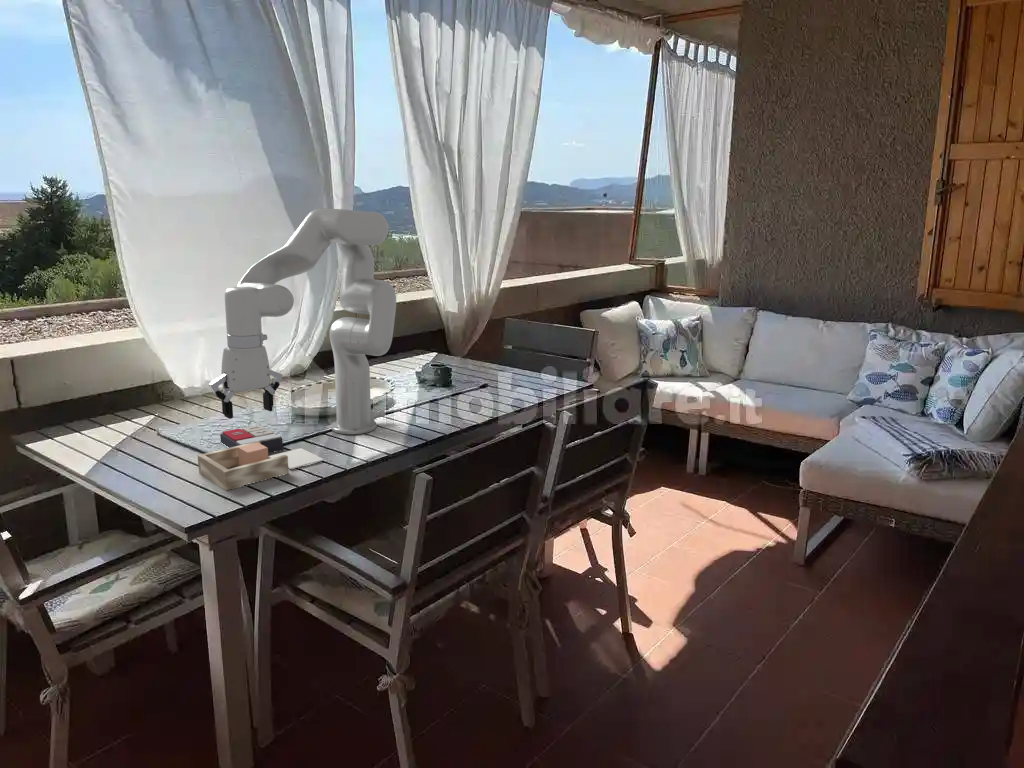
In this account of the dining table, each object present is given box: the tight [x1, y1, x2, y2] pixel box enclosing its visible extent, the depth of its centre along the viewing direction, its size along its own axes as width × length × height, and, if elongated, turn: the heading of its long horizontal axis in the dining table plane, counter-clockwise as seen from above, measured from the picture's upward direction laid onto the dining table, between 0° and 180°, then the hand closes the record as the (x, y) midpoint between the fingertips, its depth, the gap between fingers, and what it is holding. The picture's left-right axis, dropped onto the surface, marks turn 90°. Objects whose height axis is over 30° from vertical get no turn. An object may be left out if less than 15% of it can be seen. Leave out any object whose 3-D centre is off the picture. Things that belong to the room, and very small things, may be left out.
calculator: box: [219, 424, 284, 454], centre depth 191 cm, size 11×4×15 cm
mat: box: [268, 447, 325, 470], centre depth 183 cm, size 9×11×1 cm
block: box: [238, 443, 269, 467], centre depth 174 cm, size 5×5×6 cm
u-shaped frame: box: [197, 441, 290, 491], centre depth 173 cm, size 15×14×4 cm
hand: (248, 413), depth 171 cm, fingers open, 9 cm apart
